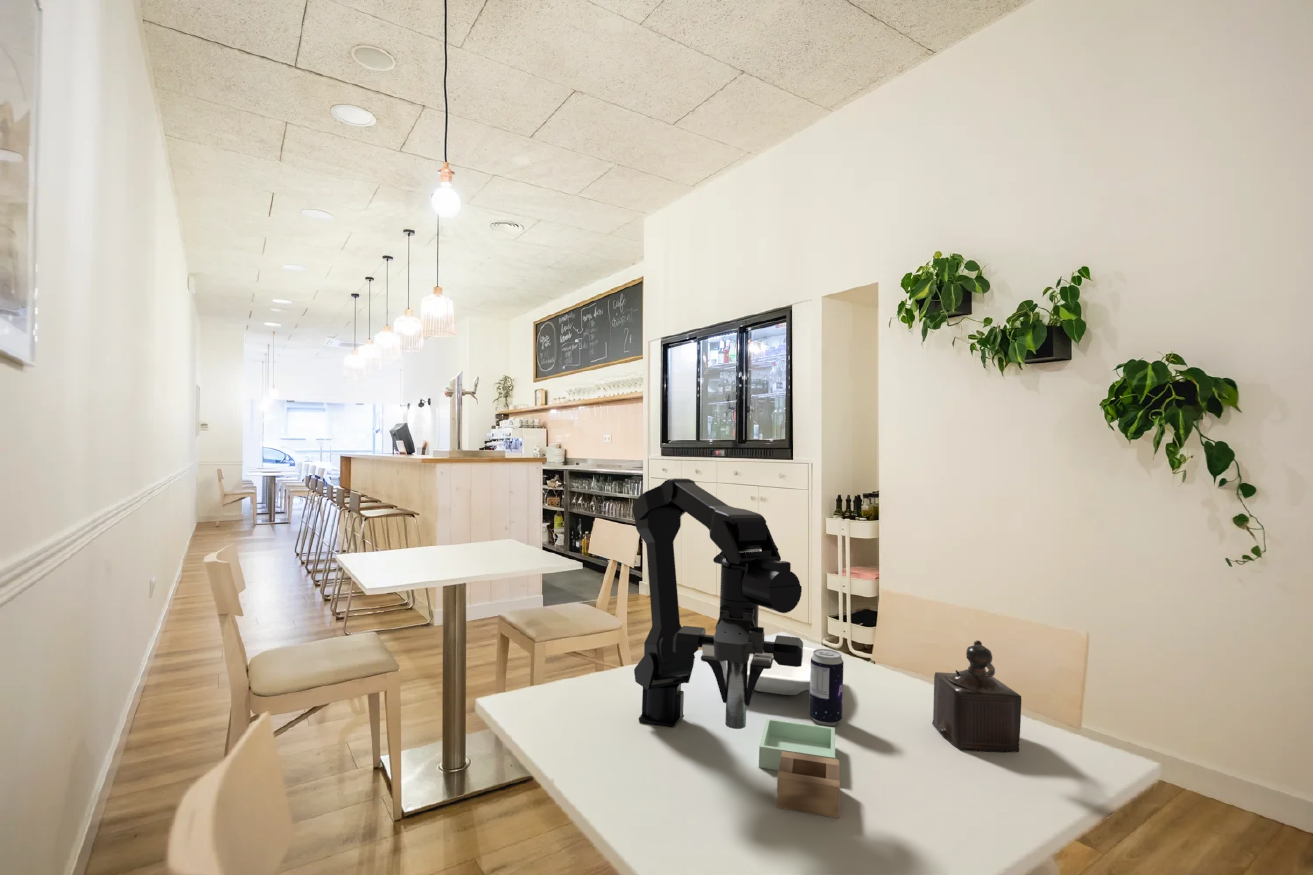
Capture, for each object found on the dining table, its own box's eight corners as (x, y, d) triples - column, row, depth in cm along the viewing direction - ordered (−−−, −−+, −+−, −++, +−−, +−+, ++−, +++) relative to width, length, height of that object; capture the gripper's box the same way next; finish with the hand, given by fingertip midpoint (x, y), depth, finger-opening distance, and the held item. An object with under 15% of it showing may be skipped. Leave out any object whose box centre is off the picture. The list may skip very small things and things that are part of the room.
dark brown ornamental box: (927, 723, 116) (930, 622, 117) (989, 726, 116) (991, 624, 117) (969, 765, 101) (972, 648, 101) (1040, 768, 101) (1043, 651, 101)
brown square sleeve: (776, 807, 87) (777, 777, 87) (781, 778, 95) (781, 751, 95) (838, 818, 85) (839, 787, 85) (838, 788, 92) (839, 759, 93)
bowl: (833, 716, 118) (834, 685, 118) (707, 698, 125) (708, 668, 125) (835, 677, 140) (836, 650, 140) (728, 663, 146) (728, 638, 146)
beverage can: (843, 729, 113) (845, 659, 113) (809, 725, 114) (811, 656, 114) (840, 716, 118) (842, 649, 119) (808, 712, 120) (810, 646, 120)
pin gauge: (723, 727, 95) (726, 658, 96) (727, 719, 98) (729, 652, 98) (744, 730, 94) (746, 660, 95) (746, 722, 97) (749, 654, 98)
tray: (758, 767, 98) (759, 746, 98) (765, 736, 109) (766, 718, 109) (834, 779, 95) (835, 757, 95) (834, 746, 106) (834, 727, 106)
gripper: (665, 603, 91) (661, 715, 91) (801, 616, 87) (797, 734, 86) (682, 588, 102) (679, 688, 102) (804, 599, 97) (801, 704, 97)
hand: (736, 703), depth 96 cm, fingers closed on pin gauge, 3 cm apart
